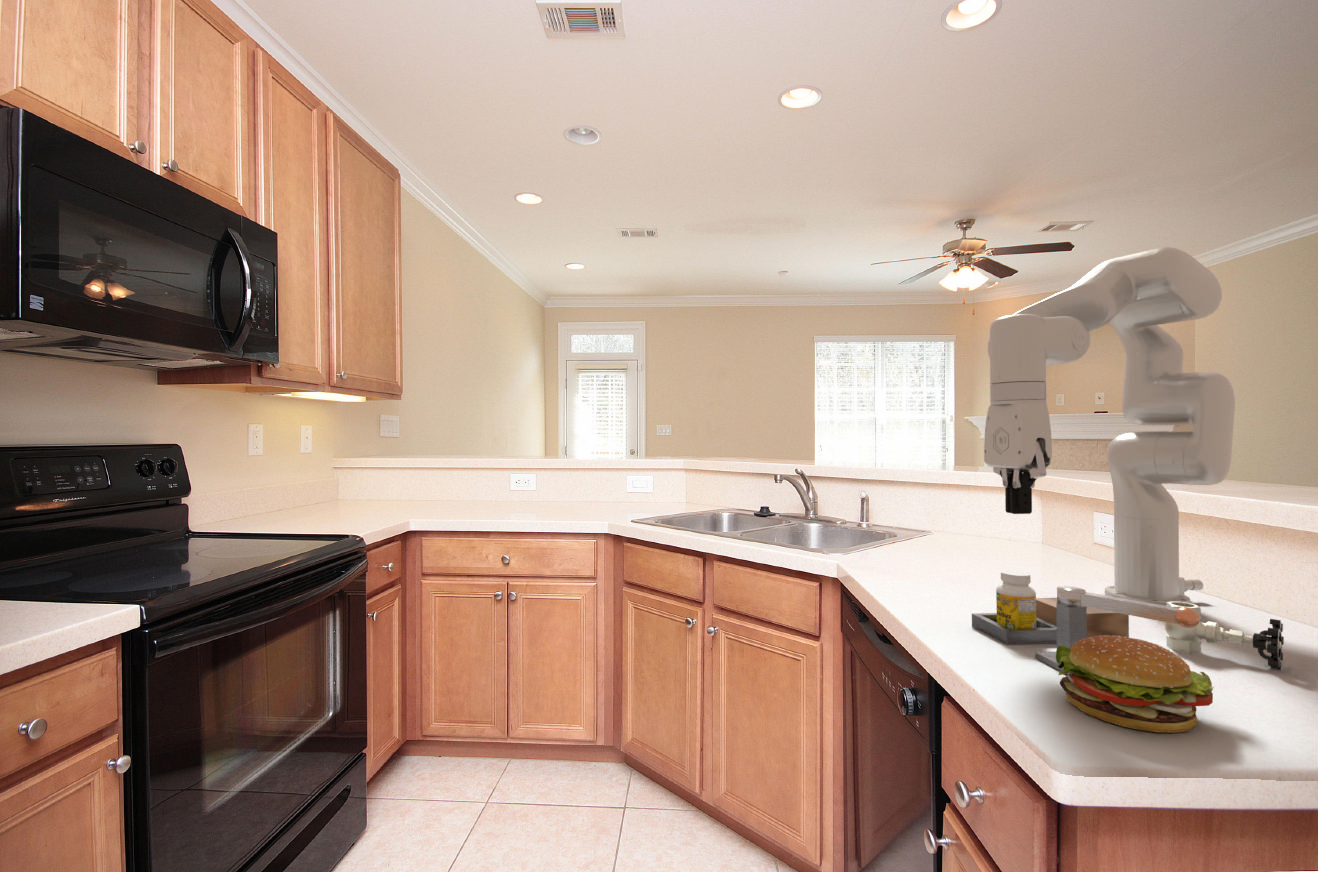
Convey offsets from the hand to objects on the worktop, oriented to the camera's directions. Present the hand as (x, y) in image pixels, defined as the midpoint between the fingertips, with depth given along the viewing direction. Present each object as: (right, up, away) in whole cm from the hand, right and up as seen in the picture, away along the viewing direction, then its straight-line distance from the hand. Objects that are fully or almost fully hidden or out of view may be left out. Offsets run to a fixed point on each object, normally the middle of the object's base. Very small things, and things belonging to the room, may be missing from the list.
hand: (1018, 512), depth 94 cm
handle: (+3, -11, -17) cm, 21 cm away
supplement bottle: (0, -19, +1) cm, 19 cm away
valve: (+22, -19, -10) cm, 31 cm away
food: (-3, -19, -26) cm, 32 cm away
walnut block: (+11, -19, +2) cm, 22 cm away
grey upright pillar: (0, -19, -12) cm, 23 cm away
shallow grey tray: (0, -19, +1) cm, 19 cm away
